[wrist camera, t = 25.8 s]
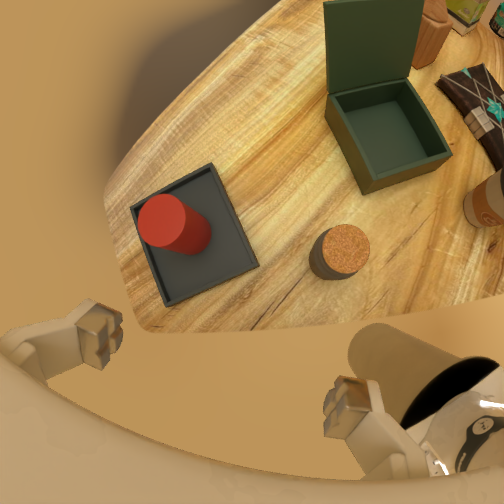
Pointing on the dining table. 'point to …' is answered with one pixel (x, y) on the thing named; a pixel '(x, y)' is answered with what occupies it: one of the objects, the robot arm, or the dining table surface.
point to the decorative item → (431, 32)
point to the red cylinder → (173, 225)
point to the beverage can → (498, 21)
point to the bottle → (339, 252)
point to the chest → (385, 133)
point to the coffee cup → (486, 202)
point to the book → (479, 106)
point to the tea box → (465, 13)
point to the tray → (217, 251)
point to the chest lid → (369, 40)
